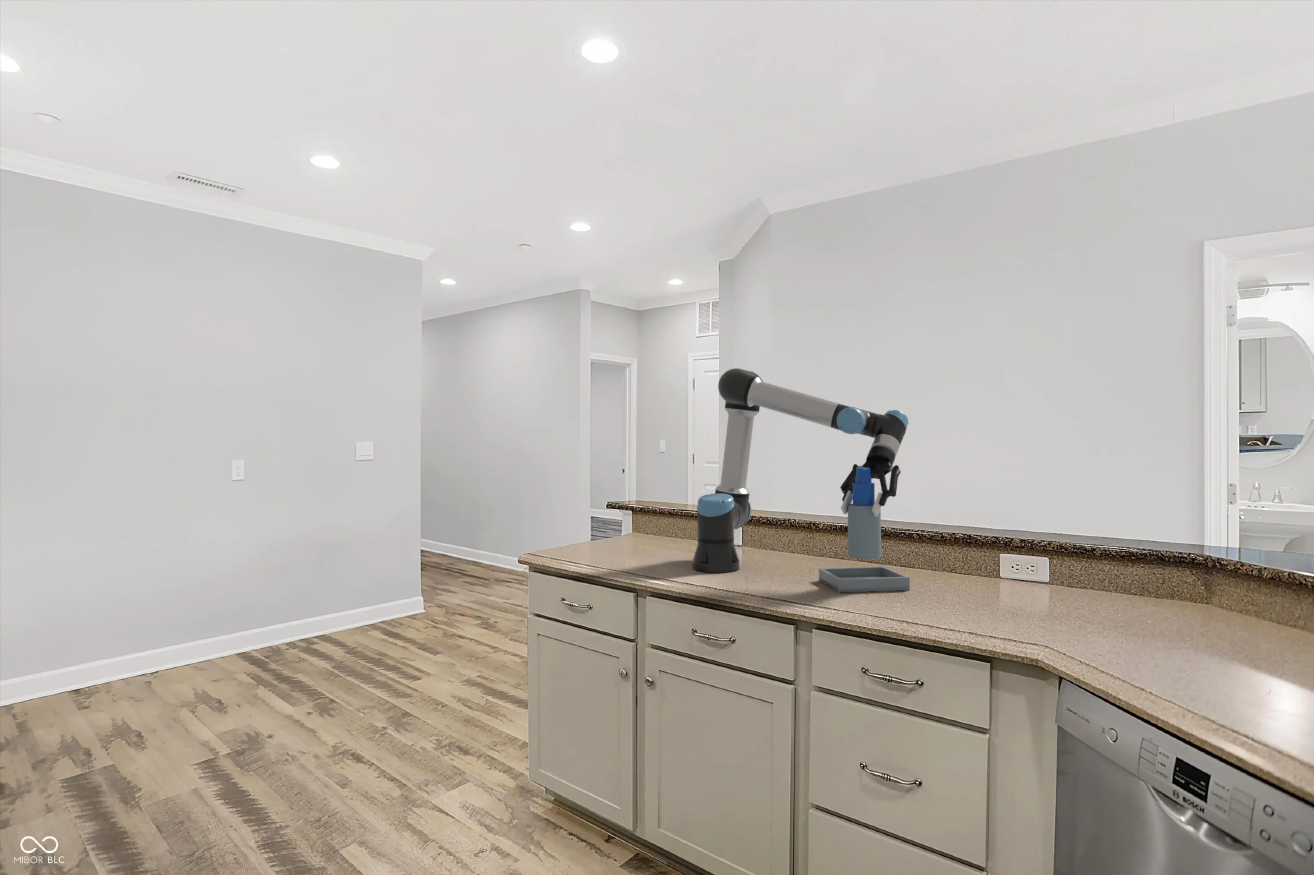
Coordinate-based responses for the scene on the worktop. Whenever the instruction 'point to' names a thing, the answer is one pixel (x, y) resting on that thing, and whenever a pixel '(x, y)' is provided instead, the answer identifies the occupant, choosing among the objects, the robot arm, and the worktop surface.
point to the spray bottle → (863, 519)
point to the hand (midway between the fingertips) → (858, 512)
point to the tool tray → (864, 579)
